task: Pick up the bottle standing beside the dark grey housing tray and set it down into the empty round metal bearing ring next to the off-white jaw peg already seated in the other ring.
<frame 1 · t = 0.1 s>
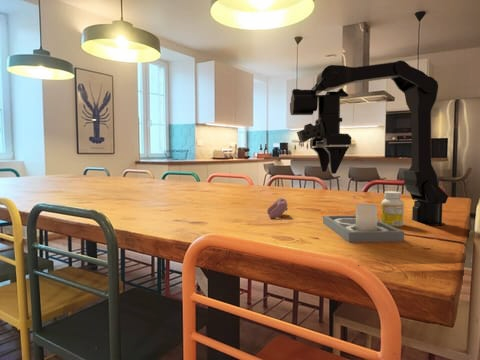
hand: (328, 172, 94), 15 cm above the table, fingers open, 9 cm apart
supplement bottle: (391, 228, 91), on the table
jaw peg: (366, 235, 79), point 1 cm above the table, touching housing
housing: (358, 235, 83), on the table
video game controller: (277, 216, 110), on the table
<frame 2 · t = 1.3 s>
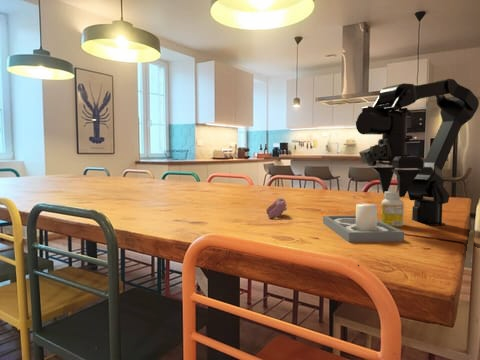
hand: (393, 194, 90), 9 cm above the table, fingers open, 9 cm apart
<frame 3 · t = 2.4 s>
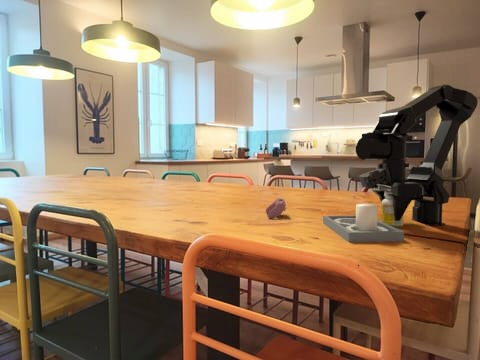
hand: (392, 218, 90), 3 cm above the table, fingers closed on supplement bottle, 5 cm apart
supplement bottle: (391, 228, 91), on the table, touching gripper
everything else where it was.
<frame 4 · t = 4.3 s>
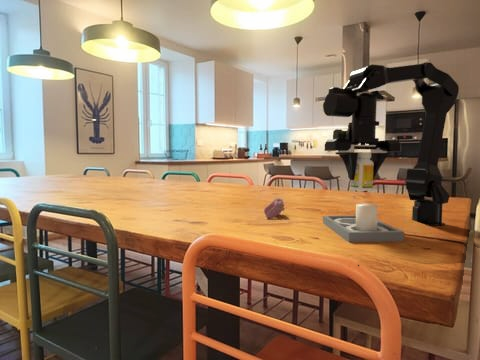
hand: (361, 180, 87), 13 cm above the table, fingers closed on supplement bottle, 5 cm apart
supplement bottle: (361, 190, 88), point 10 cm above the table, touching gripper
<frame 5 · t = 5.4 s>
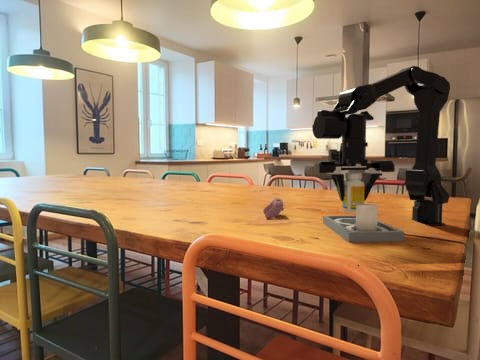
hand: (353, 200, 87), 8 cm above the table, fingers closed on supplement bottle, 5 cm apart
supplement bottle: (353, 211, 88), point 5 cm above the table, touching gripper
when the fingers open (4 cm above the table, at t = 6.4 s): supplement bottle stays where it is, resting on housing.
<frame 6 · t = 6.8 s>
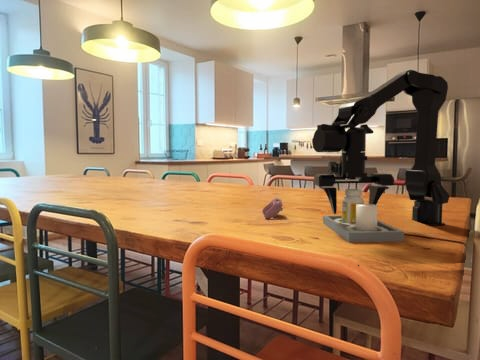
hand: (352, 213, 88), 4 cm above the table, fingers open, 9 cm apart
supplement bottle: (352, 227, 88), point 1 cm above the table, touching housing
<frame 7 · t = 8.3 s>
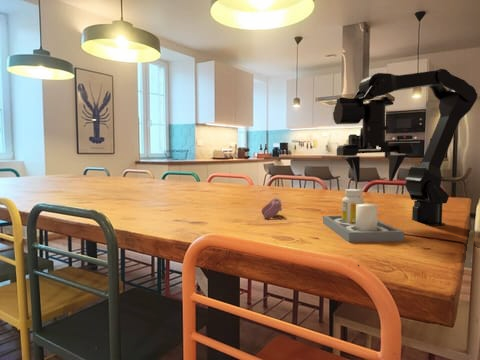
hand: (374, 181, 93), 12 cm above the table, fingers open, 9 cm apart
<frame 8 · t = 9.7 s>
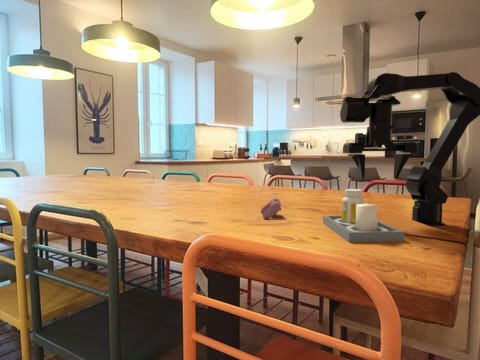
hand: (378, 179, 95), 13 cm above the table, fingers open, 9 cm apart
at the end: supplement bottle 0.1 cm from the target spot on the housing, point 0.8 cm above the housing's base; supplement bottle tilted 0°; the gripper is holding nothing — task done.
